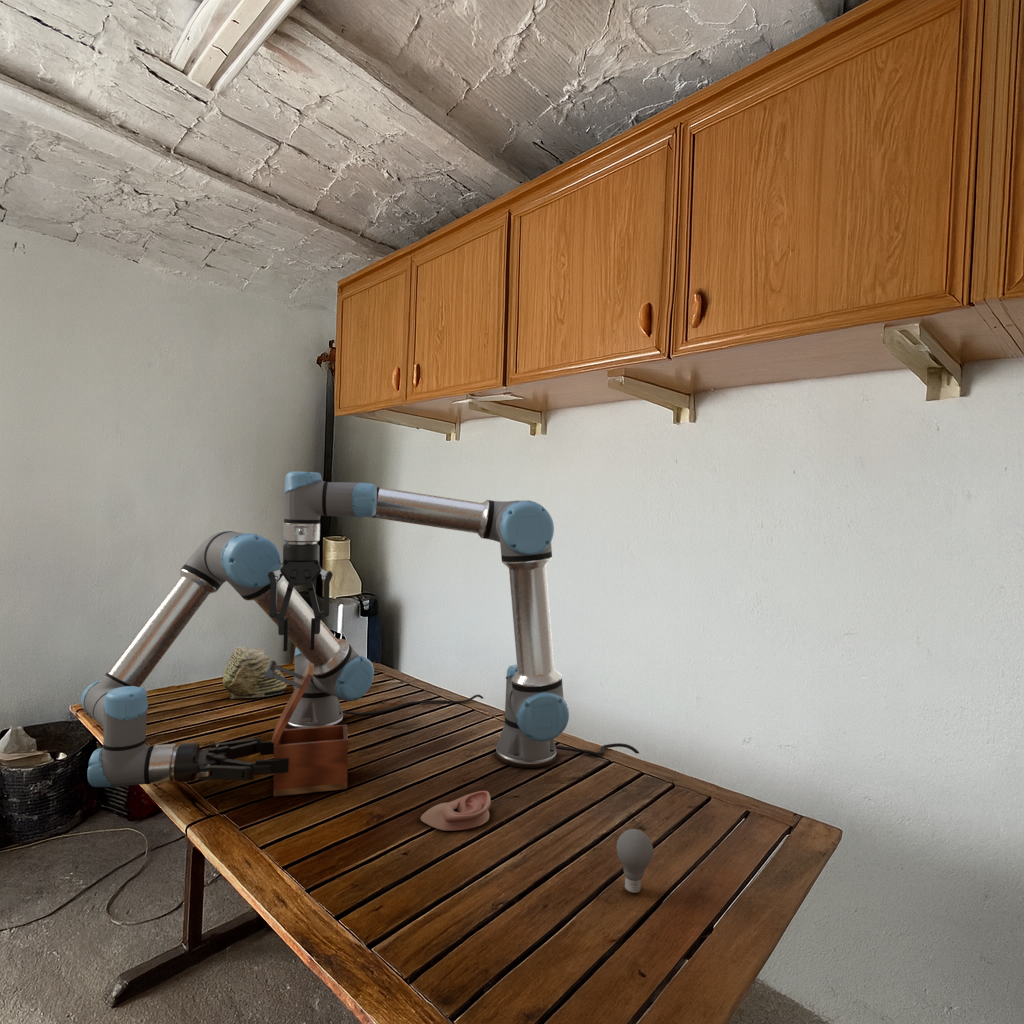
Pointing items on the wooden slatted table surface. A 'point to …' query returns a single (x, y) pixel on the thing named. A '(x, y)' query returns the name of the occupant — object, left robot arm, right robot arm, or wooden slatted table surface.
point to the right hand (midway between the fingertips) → (299, 649)
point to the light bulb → (634, 857)
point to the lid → (294, 697)
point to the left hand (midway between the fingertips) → (289, 755)
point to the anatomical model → (459, 812)
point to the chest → (312, 760)
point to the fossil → (250, 675)
